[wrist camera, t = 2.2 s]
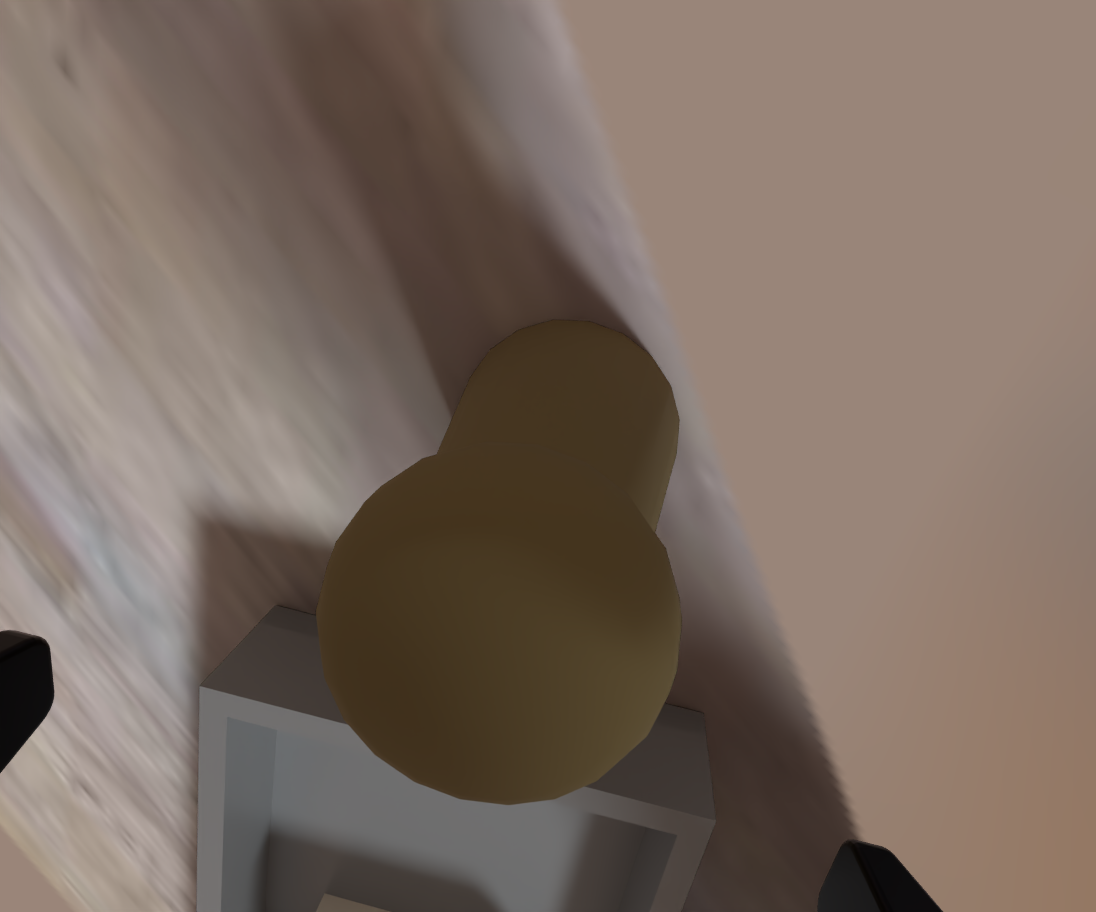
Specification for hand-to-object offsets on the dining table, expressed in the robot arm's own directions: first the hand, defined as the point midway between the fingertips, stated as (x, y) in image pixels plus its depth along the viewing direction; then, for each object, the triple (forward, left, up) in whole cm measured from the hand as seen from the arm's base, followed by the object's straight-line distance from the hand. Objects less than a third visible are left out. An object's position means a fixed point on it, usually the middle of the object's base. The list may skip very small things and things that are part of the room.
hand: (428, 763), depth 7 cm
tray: (+1, +18, -12) cm, 22 cm away
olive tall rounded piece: (0, 0, -12) cm, 12 cm away
